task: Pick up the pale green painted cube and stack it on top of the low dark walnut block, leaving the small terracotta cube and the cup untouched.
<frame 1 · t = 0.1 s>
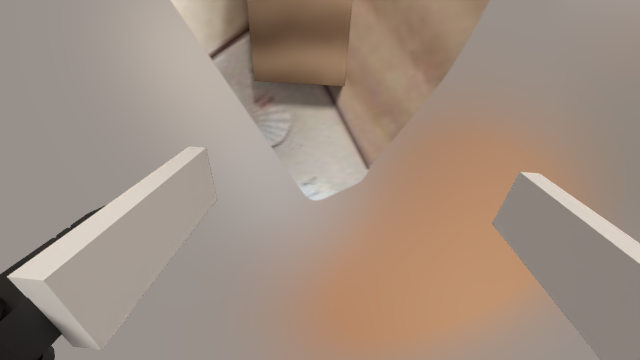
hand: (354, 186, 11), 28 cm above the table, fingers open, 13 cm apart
walnut block: (303, 30, 32), on the table
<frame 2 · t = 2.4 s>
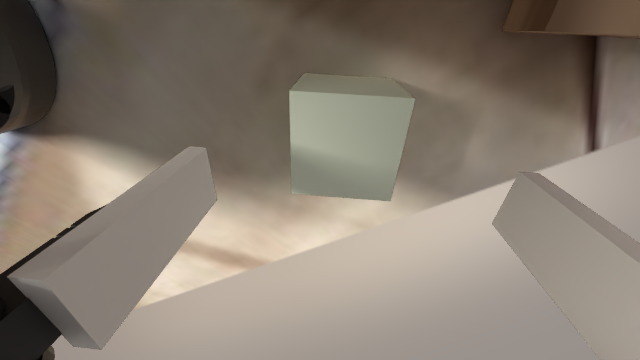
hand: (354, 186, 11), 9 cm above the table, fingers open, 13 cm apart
pale green cube: (343, 118, 18), on the table
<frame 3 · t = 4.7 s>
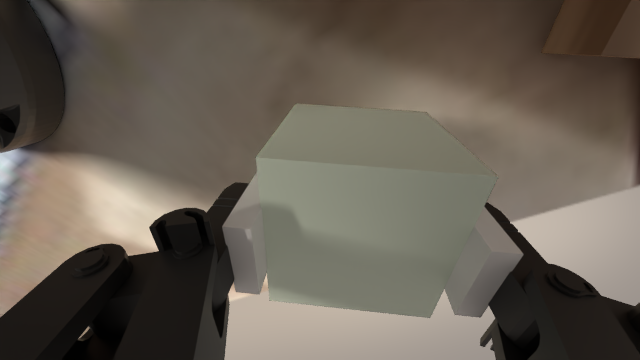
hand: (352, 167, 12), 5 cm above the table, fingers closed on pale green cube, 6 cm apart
pale green cube: (352, 165, 13), point 4 cm above the table, touching gripper
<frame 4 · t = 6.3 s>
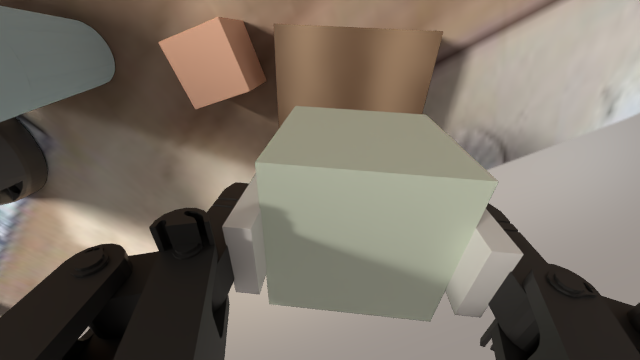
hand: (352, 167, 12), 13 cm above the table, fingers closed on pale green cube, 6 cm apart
walnut block: (347, 101, 24), on the table
cup: (87, 53, 23), on the table
pale green cube: (352, 167, 13), point 13 cm above the table, touching gripper
terracotta cube: (231, 61, 22), on the table
when the fingers open (5 cm above the table, at t = 8.0 s): pale green cube drops 1 cm, point 3 cm above the table.
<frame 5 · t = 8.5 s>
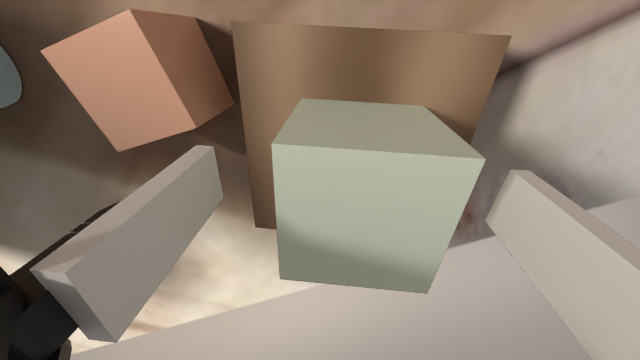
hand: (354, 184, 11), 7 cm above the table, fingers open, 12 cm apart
walnut block: (349, 131, 17), on the table
pale green cube: (354, 157, 13), point 3 cm above the table
terracotta cube: (183, 76, 16), on the table
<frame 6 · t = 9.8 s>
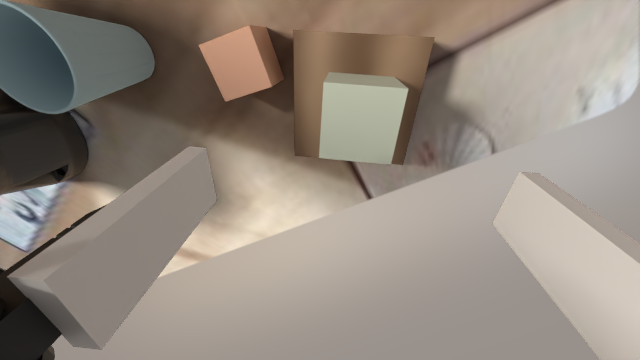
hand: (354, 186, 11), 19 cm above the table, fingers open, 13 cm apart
walnut block: (353, 96, 27), on the table, touching pale green cube
cup: (132, 53, 27), on the table
pale green cube: (357, 107, 24), point 3 cm above the table, touching walnut block
terracotta cube: (254, 61, 26), on the table
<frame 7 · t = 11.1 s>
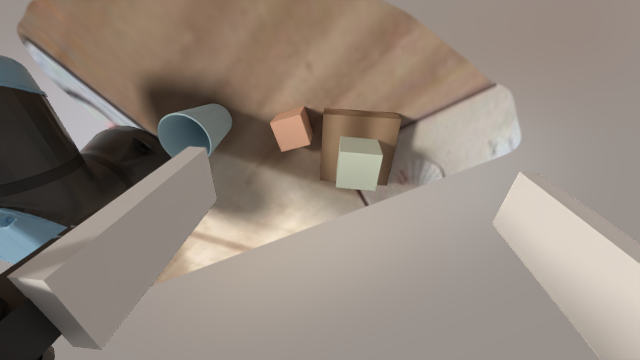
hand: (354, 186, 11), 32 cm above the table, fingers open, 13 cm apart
walnut block: (356, 143, 44), on the table
cup: (217, 118, 43), on the table
pale green cube: (356, 154, 41), point 4 cm above the table
terracotta cube: (295, 124, 42), on the table
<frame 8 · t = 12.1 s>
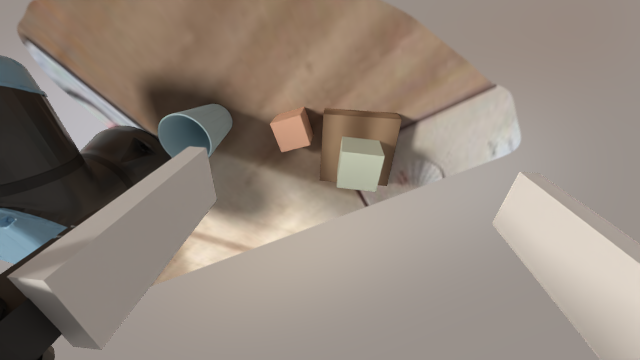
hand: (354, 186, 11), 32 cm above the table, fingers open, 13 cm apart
walnut block: (356, 143, 44), on the table, touching pale green cube
cup: (218, 118, 43), on the table
pale green cube: (357, 155, 41), point 3 cm above the table, touching walnut block
terracotta cube: (295, 124, 42), on the table
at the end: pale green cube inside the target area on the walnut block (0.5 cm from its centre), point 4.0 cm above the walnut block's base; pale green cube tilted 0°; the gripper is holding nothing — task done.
